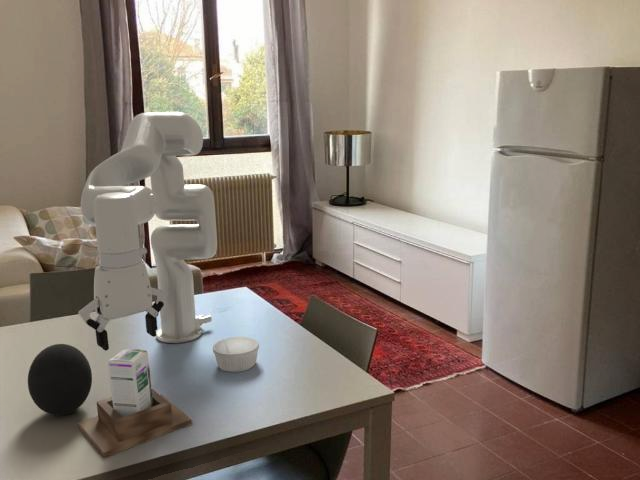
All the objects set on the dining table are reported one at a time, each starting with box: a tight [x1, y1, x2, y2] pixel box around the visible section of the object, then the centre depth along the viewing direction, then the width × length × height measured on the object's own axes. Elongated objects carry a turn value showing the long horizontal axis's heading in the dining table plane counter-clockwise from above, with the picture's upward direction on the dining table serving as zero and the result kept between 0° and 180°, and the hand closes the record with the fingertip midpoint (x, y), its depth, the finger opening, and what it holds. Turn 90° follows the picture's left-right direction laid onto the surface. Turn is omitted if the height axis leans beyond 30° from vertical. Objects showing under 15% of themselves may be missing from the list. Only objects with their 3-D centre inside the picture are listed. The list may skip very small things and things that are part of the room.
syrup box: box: [107, 348, 153, 417], centre depth 119 cm, size 6×6×14 cm
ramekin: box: [212, 336, 260, 373], centre depth 148 cm, size 11×11×5 cm
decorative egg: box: [27, 343, 93, 416], centre depth 125 cm, size 12×12×15 cm
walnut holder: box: [78, 387, 193, 458], centre depth 121 cm, size 18×14×5 cm
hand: (128, 341), depth 118 cm, fingers open, 9 cm apart
